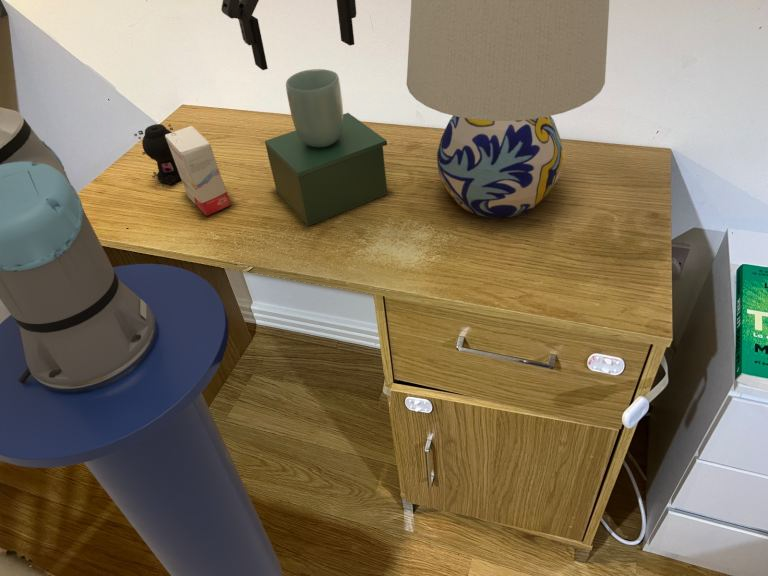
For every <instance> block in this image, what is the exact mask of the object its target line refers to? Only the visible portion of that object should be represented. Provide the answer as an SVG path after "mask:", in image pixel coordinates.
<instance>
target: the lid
mask: <svg viewBox="0 0 768 576" xmlns="http://www.w3.org/2000/svg"><path fill="white" fill-rule="evenodd" d="M264 145H265V147H266V146H267V147H268V148H269V149H270V150H271V151H272V152H273V153H274V154H275V155H276V156H277V157H278V158H279V159H280V160H281V161H282V162H283V163H284V164H285V165H286V166H287V167H288V168H289V169H290V170H291V171H292V172H293V173H294V174H295V175H296V176H297V177H301V176H304V175H307V174H309V173H312V172H315V171H318V170H320V169H323V168H326V167H328V166H331V165H334V164H337V163H339V162H342V161H345V160H347V159H350V158H353V157H356V156H358V155H361V154H364V153H366V152H369V151H372V150H375V149H377V148H380V147H383V148H384V147H386V146H388V141H387V139H386V138H384V137H383V136H381V135H380V134H379V133H377V132H376V131H374V130H373V129H371V128H370V127H369V126H367V125H366V124H365V123H364V122H362V121H361V120H359V119H357V118H356V116H354V115H352V114H351V113H349V112H345V113H343V130H342V133H341V136H340V138H339V139H338V140H337V141H336V142H335V143H333V144H332V145H330V146H327V147H311V146H308V145H306V144H305V143H303V142H302V141H301V139H300V138H299V137H298V135H297V132H296V130H293V131H290V132H286V133H284V134H280V135H278V136H275V137H271V138H269V139H266V140H264Z"/></svg>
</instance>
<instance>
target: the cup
mask: <svg viewBox="0 0 768 576" xmlns="http://www.w3.org/2000/svg"><path fill="white" fill-rule="evenodd" d="M285 91H286V96H287V100H288V101H287V103H288V105H289V106H288V107H289V111H290V116H291V120H292V123H293V126H294V129H295V130H296V132H297V135H298V137H299V138H300V139H301V141H302V142H303V143H305V144H306V145H308V146H311V147H327V146H330V145H332V144H333V143H335V142H336V141H337V140H338V139H339V138H340V136H341V133H342V130H343V114H344V105H343V97H342V89H341V80H340V77H339V75H338V73H336V72H335V71H333V70H329V69H322V68H312V69H306V70H302V71H299V72H296V73H294V74H293V75H291V76H290V77H288V78H287V79H286V82H285ZM295 130H294V131H295Z"/></svg>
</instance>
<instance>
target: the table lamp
mask: <svg viewBox="0 0 768 576" xmlns="http://www.w3.org/2000/svg"><path fill="white" fill-rule="evenodd" d="M609 14H610V0H410V16H409V17H410V19H409V34H408V52H407V69H406V88H407V90H408V93H409V94H410V95H411V96H412V97H413V98H414V99H415V100H416V101H417V102H419V103H420V104H421V105H424V106H425V107H426V108H429V109H432V110H434V111H437V112H439V113H442V114H445V115H449V116H451V118H450V119H449V121H448V122H447V125H446V127H445V129H444V130H443V133H442V136H441V138H440V140H439V141H440V142H439V145H438V149H437V152H436V161H437V171H438V172H437V173H438V175H439V177H440V178H439V179H440V180H441V182H442V184H443V186H444V188H445V189H446V191H447V192H448V194H449V195H450V196H451V197H452V199H454V201H455V202H456V203H457V204H458V205H459V206H460V207H461V208H462V209H464V210H465V211H467V212H469V213H471V214H474V215H476V216H477V215H478V216H480V217H485V218H496V219H497V218H499V219H500V218H503V219H504V218H511V217H516V216H519V215H523V214H524V213H528V212H529V211H531V210H532V209H533V208H535V207H536V206H537V205H538V204H539V203H540V202H541V201H542V200H543V199H544V198H545V197H546V196H547V195H548V194H549V192H550V191H551V190H552V188H553V187H554V186H555V184H556V182H557V181H558V180H559V177H560V175H561V170H562V165H563V160H564V151H563V145H562V140H561V139H562V138H561V136H560V133H559V131H558V128H557V125H556V122H555V120H554V119H553V117H552V116H555V115H559V114H564V113H566V112H569V111H572V110H575V109H577V108H579V107H582V106H583V105H585V104H587V103H589V102H590V101H593V99H595V98H596V97H597V96H598V95H599V94H600V93H601V92H602V90H603V88H604V86H605V84H606V71H607V69H606V68H607V53H608V52H607V51H608V35H609Z"/></svg>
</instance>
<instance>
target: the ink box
mask: <svg viewBox="0 0 768 576" xmlns="http://www.w3.org/2000/svg"><path fill="white" fill-rule="evenodd" d="M171 132H172V131H171ZM165 137H166V140H167V142H168V145H169V148H170V150H171V153H172V156H173V158H174V161H175V164H176V166H177V169H178V172H179V175H180V177H181V179H180V180H181V182H182V185H183V188H184V190H185V191H184V192H185V193H186V196H187V197H188V198H189V200H190V201H191V202H192V203H193V204H194V205H195V206H196V207H197V208H198V209H199V210H200V211H201V212H202V213H203V214H204V215H205V216H210V215H212V214H214V213H217V212H220V211H221V210H223V209H225V208H227V207H229V206H231V205H232V203H231V200H230V198H229V195H228V192H227V189H226V187H225V184H224V181H223V177H222V175H221V172H220V169H219V167H218V163H217V161H216V158H215V155H214V151H213V148H212V146H211V143H210V142H209V141H208V140H207V139H206V138H205V137H204V136H203V135H202V133H200V132H199V131H198V129H196V128H195V127H194V126H193V125H189V126H186V127H182V128H181V129H178V130H175V131H173V132H172V133H169V134H166V135H165Z"/></svg>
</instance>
